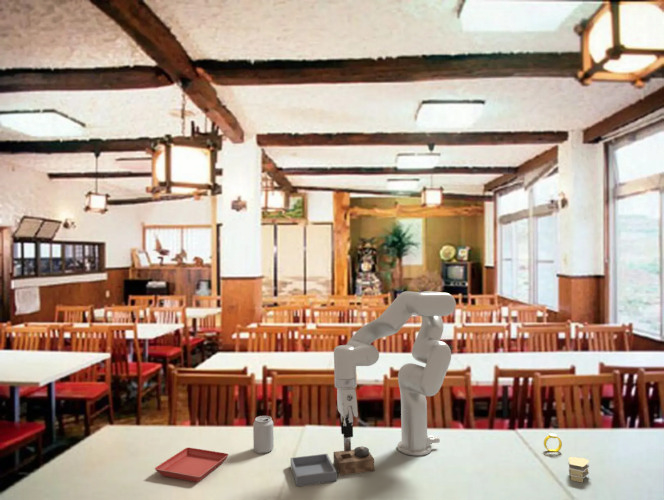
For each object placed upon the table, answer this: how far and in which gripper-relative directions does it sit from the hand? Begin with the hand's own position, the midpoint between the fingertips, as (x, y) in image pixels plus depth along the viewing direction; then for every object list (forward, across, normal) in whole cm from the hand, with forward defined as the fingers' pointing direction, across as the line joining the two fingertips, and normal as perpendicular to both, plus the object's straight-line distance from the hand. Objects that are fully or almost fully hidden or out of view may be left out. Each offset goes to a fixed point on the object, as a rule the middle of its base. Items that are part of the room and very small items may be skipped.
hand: (347, 434), depth 157 cm
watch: (+13, -7, -76) cm, 77 cm away
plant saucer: (+11, +13, +52) cm, 55 cm away
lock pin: (+5, 0, 0) cm, 5 cm away
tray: (+11, -1, +13) cm, 17 cm away
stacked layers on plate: (+13, -26, -70) cm, 76 cm away
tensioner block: (+11, 0, -2) cm, 11 cm away
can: (+11, +22, +27) cm, 36 cm away
